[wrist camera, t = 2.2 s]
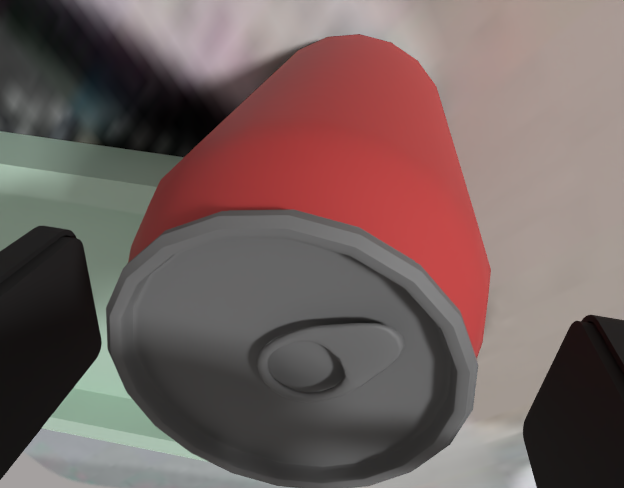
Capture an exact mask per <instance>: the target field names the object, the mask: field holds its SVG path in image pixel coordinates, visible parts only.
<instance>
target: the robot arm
mask: <svg viewBox="0 0 624 488" xmlns="http://www.w3.org/2000/svg"><path fill="white" fill-rule="evenodd" d="M101 345H102V341H101V335H100V330H99V324H98V319H97V314H96V309H95V304H94V298H93V293H92V288H91V283H90V278H89V273H88V267H87V262H86V257H85V252H84V247H83V243H82V242H81V240H79V239H77V238H76V235H75V234H74V233H73V232H72V231H71V230H68V229H62V228H55V227H49V226H37V227H35V228H34V229H32V230H31V231H29V232H28V233H26V234H25V235H23V236H22V237H20V238H19V239H17V240H16V241H15V242H13V243H12V244H10V245H9V246H7V247H6V248H4V249H3V250H1V251H0V480H1V478H2V477H3V475H5V473H6V472H7V471H8V470H9V468H10V467H11V466H12V464H13V463H14V462H15V461H16V460H17V458H18V457H19V456H20V454H21V453H22V452H23V451H24V449H25V448H26V447H27V446H28V444H29V443H30V442H31V441H32V439H33V438H34V437H35V436H36V434H37V433H38V432H39V431H40V429H41V428H42V427H43V425H44V424H45V423H46V422H47V420H48V419H49V418H50V417H51V415H52V414H53V413H54V412H55V410H56V409H57V408H58V407H59V405H60V404H61V403H62V402H63V400H64V399H65V398H66V397H67V395H68V394H69V393H70V391H71V390H72V389H73V388H74V386H75V385H76V384H77V383H78V381H79V380H80V379H81V378H82V376H83V375H84V374H85V373H86V371H87V370H88V369H89V368H90V366H91V365H92V364H93V362H94V361H95V360H96V359H97V357H98V355H99V353H100V350H101ZM523 437H524V442H525V446H526V449H527V453H528V457H529V460H530V464H531V468H532V471H533V475H534V479H535V482H536V486H537V488H624V320H619V319H613V318H607V317H601V316H595V315H588V316H586V317H585V318H583V320H582V321H575V322H574V323H572V325H571V326H570V328H569V330H568V332H567V334H566V336H565V338H564V340H563V342H562V344H561V346H560V349H559V351H558V353H557V355H556V357H555V359H554V361H553V363H552V365H551V367H550V369H549V371H548V373H547V375H546V377H545V379H544V382H543V384H542V386H541V388H540V390H539V392H538V394H537V396H536V398H535V400H534V402H533V404H532V406H531V408H530V410H529V412H528V415H527V417H526V419H525V421H524V426H523Z"/></svg>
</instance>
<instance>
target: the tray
mask: <svg viewBox="0 0 624 488" xmlns="http://www.w3.org/2000/svg"><path fill="white" fill-rule="evenodd" d="M183 158H184V157H179V156H171V155H164V154H157V153H150V152H143V151H136V150H129V149H122V148H115V147H108V146H101V145H94V144H86V143H79V142H72V141H65V140H58V139H51V138H44V137H37V136H30V135H23V134H16V133H9V132H1V131H0V251H1V250H3V249H4V248H6V247H7V246H9V245H10V244H12V243H13V242H15V241H16V240H17V239H19V238H20V237H22V236H23V235H25V234H26V233H28V232H29V231H31V230H32V229H34V228H35V227H37V226H49V227H55V228H62V229H68V230H71V231H72V232H73V233H74V234H75V235H76V238H77V239H79V240H81V242H82V243H83V247H84V252H85V257H86V262H87V267H88V273H89V278H90V283H91V288H92V293H93V298H94V304H95V309H96V314H97V319H98V324H99V330H100V335H101V341H102V345H101V350H100V353H99V355H98V357H97V359H96V360H95V361H94V362H93V364H92V365H91V366H90V368H89V369H88V370H87V371H86V373H85V374H84V375H83V376H82V378H81V379H80V380H79V381H78V383H77V384H76V385H75V386H74V388H73V389H72V390H71V391H70V393H69V394H68V395H67V397H66V398H65V399H64V400H63V402H62V403H61V404H60V405H59V407H58V408H57V409H56V410H55V412H54V413H53V414H52V415H51V417H50V418H49V419H48V420H47V422H46V423H45V424H44V425H43V427H42V428H43V429H48V430H53V431H58V432H63V433H68V434H73V435H78V436H83V437H88V438H93V439H98V440H103V441H108V442H113V443H118V444H122V445H127V446H132V447H137V448H142V449H147V450H152V451H157V452H162V453H167V454H172V455H177V456H182V457H187V458H192V459H197V460H202V461H207V460H205V459H203V458H200V457H198V456H196V455H194V454H192V453H190V452H189V451H188V450H186V449H185V448H184V447H182V446H181V445H180V444H178V443H177V442H176V441H174V440H173V439H172V438H170V437H169V436H168V435H166V434H165V433H164V432H162V431H161V430H160V429H158V428H157V427H156V426H155V425H154V424H153V423H152V422H151V421H150V419H149V418H148V417H147V416H146V415H145V414H144V412H143V411H142V410H141V409H140V408H139V406H138V405H137V404H136V403H135V402H134V400H133V399H132V398H131V397H130V396H129V395H128V393H127V392H126V390H125V388H124V386H123V383H122V381H121V379H120V376H119V374H118V372H117V370H116V367H115V365H114V363H113V360H112V358H111V356H110V354H109V351H108V347H107V323H106V307H107V304H108V302H109V300H110V297H111V295H112V293H113V290H114V288H115V286H116V284H117V281H118V279H119V277H120V274H121V272H122V270H123V268H124V267H125V266H126V264H127V263H128V260H129V255H130V250H131V245H132V243H133V241H134V238H135V236H136V234H137V231H138V229H139V227H140V224H141V222H142V220H143V217H144V215H145V213H146V210H147V208H148V206H149V204H150V201H151V199H152V197H153V195H154V193H155V191H156V188H157V186H158V184H159V182H160V180H161V179H162V178H163V177H164V176H165V175H166V174H167V173H168V172H169V171H170V170H171V169H172V168H173V167H175V166H176V165H177V164H178V163H179V162H180V161H181V160H182V159H183ZM207 462H209V461H207Z"/></svg>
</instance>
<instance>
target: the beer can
mask: <svg viewBox="0 0 624 488" xmlns="http://www.w3.org/2000/svg"><path fill="white" fill-rule="evenodd" d="M490 272H491V269H490V265H489V262H488V259H487V255H486V252H485V248H484V245H483V241H482V238H481V234H480V231H479V228H478V224H477V221H476V217H475V214H474V211H473V207H472V204H471V201H470V197H469V194H468V191H467V187H466V184H465V181H464V177H463V174H462V171H461V167H460V164H459V161H458V157H457V154H456V151H455V147H454V144H453V141H452V137H451V134H450V131H449V127H448V124H447V121H446V117H445V114H444V111H443V107H442V104H441V101H440V97H439V94H438V91H437V87H436V86H435V84H434V83H433V81H432V80H431V79H430V77H429V76H428V74H427V73H426V72H425V70H424V69H423V68H422V66H421V65H420V63H419V62H418V61H417V60H416V59H414V58H413V57H411V56H410V55H408V54H407V53H405V52H404V51H403V50H401V49H400V48H398V47H397V46H395V45H394V44H392V43H391V42H387V41H383V40H379V39H375V38H372V37H368V36H364V35H360V34H357V35H345V36H333V37H326V38H324V39H322V40H320V41H317V42H315V43H313V44H311V45H308V46H306V47H304V48H302V49H300V50H298V51H297V52H296V53H295V54H294V55H293V56H292V57H290V58H289V59H288V60H287V61H286V62H285V63H284V64H283V65H282V66H281V67H280V68H279V69H278V70H277V71H276V72H274V73H273V74H272V75H271V76H270V77H269V78H268V79H267V80H266V81H265V82H264V83H263V84H262V85H261V86H260V87H258V88H257V89H256V90H255V91H254V92H253V93H252V94H251V95H250V96H249V97H248V98H247V99H246V100H245V101H243V102H242V103H241V104H240V105H239V106H238V107H237V108H236V109H235V110H234V111H233V112H232V113H231V114H230V115H229V116H227V117H226V118H225V119H224V120H223V121H222V122H221V123H220V124H219V125H218V126H217V127H216V128H215V129H214V130H213V131H211V132H210V133H209V134H208V135H207V136H206V137H205V138H204V139H203V140H202V141H201V142H200V143H199V144H198V145H197V146H195V147H194V148H193V149H192V150H191V151H190V152H189V153H188V154H187V155H186V156H185V157H184V158H183V159H182V160H181V161H180V162H179V163H178V164H177V165H176V166H175V167H173V168H172V169H171V170H170V171H169V172H168V173H167V174H166V175H165V176H164V177H163V178H162V179H161V180H160V182H159V184H158V186H157V188H156V191H155V193H154V195H153V197H152V199H151V201H150V204H149V206H148V208H147V210H146V213H145V215H144V217H143V220H142V222H141V224H140V227H139V229H138V231H137V234H136V236H135V238H134V241H133V243H132V245H131V250H130V255H129V260H128V263H127V264H126V266H125V267H124V268H123V270H122V272H121V274H120V277H119V279H118V281H117V284H116V286H115V288H114V290H113V293H112V295H111V297H110V300H109V302H108V304H107V307H106V323H107V347H108V351H109V354H110V356H111V358H112V360H113V363H114V365H115V367H116V370H117V372H118V374H119V376H120V379H121V381H122V383H123V386H124V388H125V390H126V392H127V393H128V395H129V396H130V397H131V398H132V399H133V400H134V402H135V403H136V404H137V405H138V406H139V408H140V409H141V410H142V411H143V412H144V414H145V415H146V416H147V417H148V418H149V419H150V421H151V422H152V423H153V424H154V425H155V426H156V427H157V428H158V429H160V430H161V431H162V432H164V433H165V434H166V435H168V436H169V437H170V438H172V439H173V440H174V441H176V442H177V443H178V444H180V445H181V446H182V447H184V448H185V449H186V450H188V451H189V452H190V453H192V454H194V455H196V456H198V457H200V458H203V459H205V460H207V461H209V462H211V463H213V464H215V465H217V466H219V467H221V468H223V469H225V470H227V471H229V472H231V473H234V474H238V475H241V476H245V477H248V478H252V479H255V480H259V481H263V482H266V483H270V484H273V485H277V486H285V487H296V488H353V487H363V486H370V485H373V484H376V483H379V482H382V481H385V480H388V479H391V478H394V477H397V476H400V475H403V474H406V473H409V472H411V471H413V470H414V469H416V468H417V467H419V466H420V465H422V464H423V463H424V462H426V461H427V460H429V459H430V458H432V457H433V456H434V455H436V454H437V453H439V452H440V451H441V450H443V449H444V448H446V447H447V446H449V445H450V444H451V442H452V441H453V439H454V438H455V436H456V434H457V433H458V431H459V430H460V428H461V427H462V425H463V424H464V422H465V421H466V419H467V418H468V416H469V415H470V413H471V411H472V410H473V403H474V395H475V387H476V379H477V371H478V363H477V356H478V353H479V350H480V348H481V345H482V342H483V334H484V326H485V318H486V310H487V302H488V293H489V283H490Z"/></svg>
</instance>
